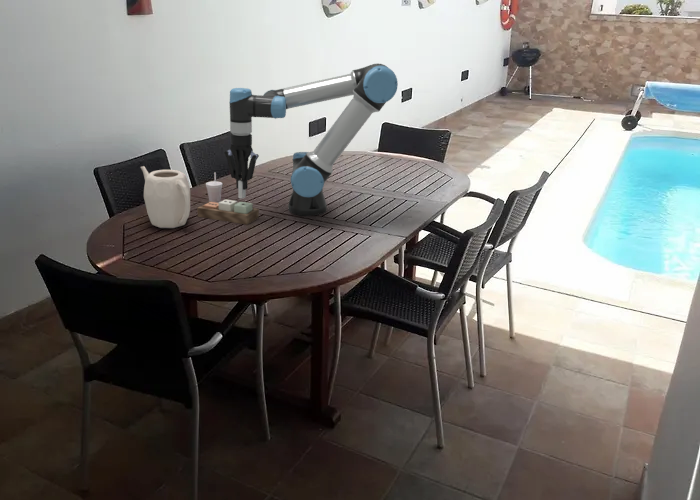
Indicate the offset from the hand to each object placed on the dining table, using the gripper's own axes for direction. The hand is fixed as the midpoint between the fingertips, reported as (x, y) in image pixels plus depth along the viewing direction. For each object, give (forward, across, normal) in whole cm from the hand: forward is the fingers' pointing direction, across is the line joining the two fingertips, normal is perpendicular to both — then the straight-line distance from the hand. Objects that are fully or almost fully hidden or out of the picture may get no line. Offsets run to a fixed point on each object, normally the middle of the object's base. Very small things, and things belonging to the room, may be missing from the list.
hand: (242, 197), depth 223 cm
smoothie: (+9, +17, -9) cm, 21 cm away
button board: (+9, +6, 0) cm, 11 cm away
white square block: (+6, +6, 0) cm, 9 cm away
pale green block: (+6, 0, 0) cm, 6 cm away
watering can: (+9, +22, +15) cm, 28 cm away
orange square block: (+8, +13, 0) cm, 15 cm away
